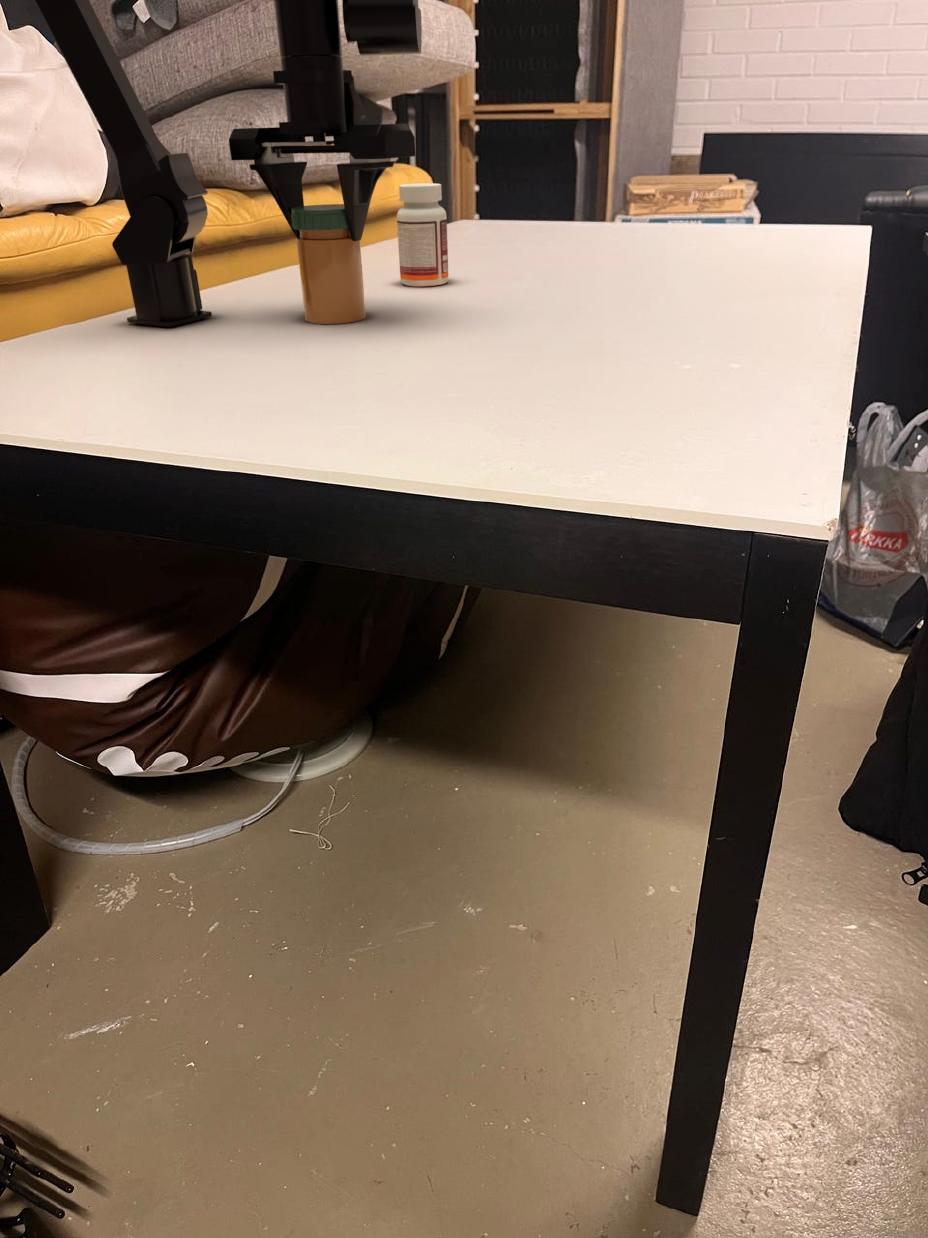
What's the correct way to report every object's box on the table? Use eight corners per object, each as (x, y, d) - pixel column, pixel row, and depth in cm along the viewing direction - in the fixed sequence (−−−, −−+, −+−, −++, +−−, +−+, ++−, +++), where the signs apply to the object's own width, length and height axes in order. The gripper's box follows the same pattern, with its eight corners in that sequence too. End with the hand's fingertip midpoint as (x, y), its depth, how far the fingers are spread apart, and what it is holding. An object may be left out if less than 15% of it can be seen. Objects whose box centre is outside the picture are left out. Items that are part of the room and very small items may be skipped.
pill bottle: (429, 277, 115) (425, 181, 110) (458, 282, 111) (455, 183, 105) (390, 283, 112) (384, 185, 106) (419, 288, 108) (414, 186, 102)
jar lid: (328, 221, 93) (326, 203, 92) (376, 224, 89) (374, 205, 88) (278, 228, 88) (275, 208, 87) (326, 231, 84) (324, 211, 83)
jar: (341, 326, 89) (332, 224, 84) (292, 321, 92) (281, 222, 87) (377, 314, 94) (370, 217, 89) (330, 310, 97) (321, 216, 92)
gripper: (441, 55, 83) (447, 233, 91) (288, 66, 91) (305, 228, 99) (375, 50, 75) (388, 246, 83) (213, 62, 83) (238, 240, 91)
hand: (328, 239), depth 89 cm, fingers closed on jar lid, 7 cm apart
